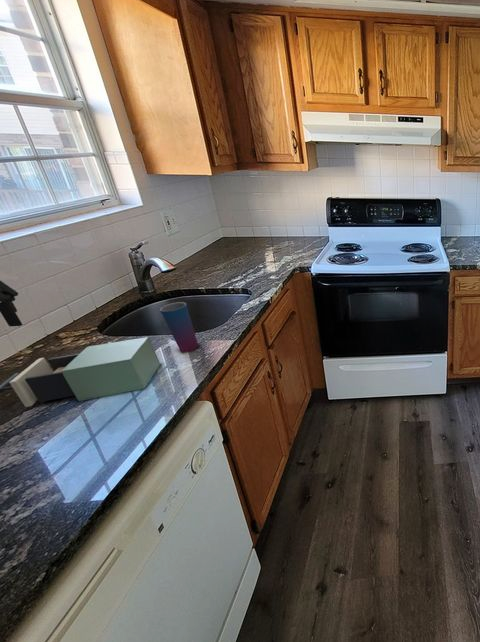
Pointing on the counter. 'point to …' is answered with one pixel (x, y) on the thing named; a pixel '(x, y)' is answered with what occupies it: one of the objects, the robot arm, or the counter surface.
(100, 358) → the green box
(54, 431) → the counter surface
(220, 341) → the counter surface
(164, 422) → the counter surface
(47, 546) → the counter surface
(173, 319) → the cup
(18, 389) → the black and cream piece
